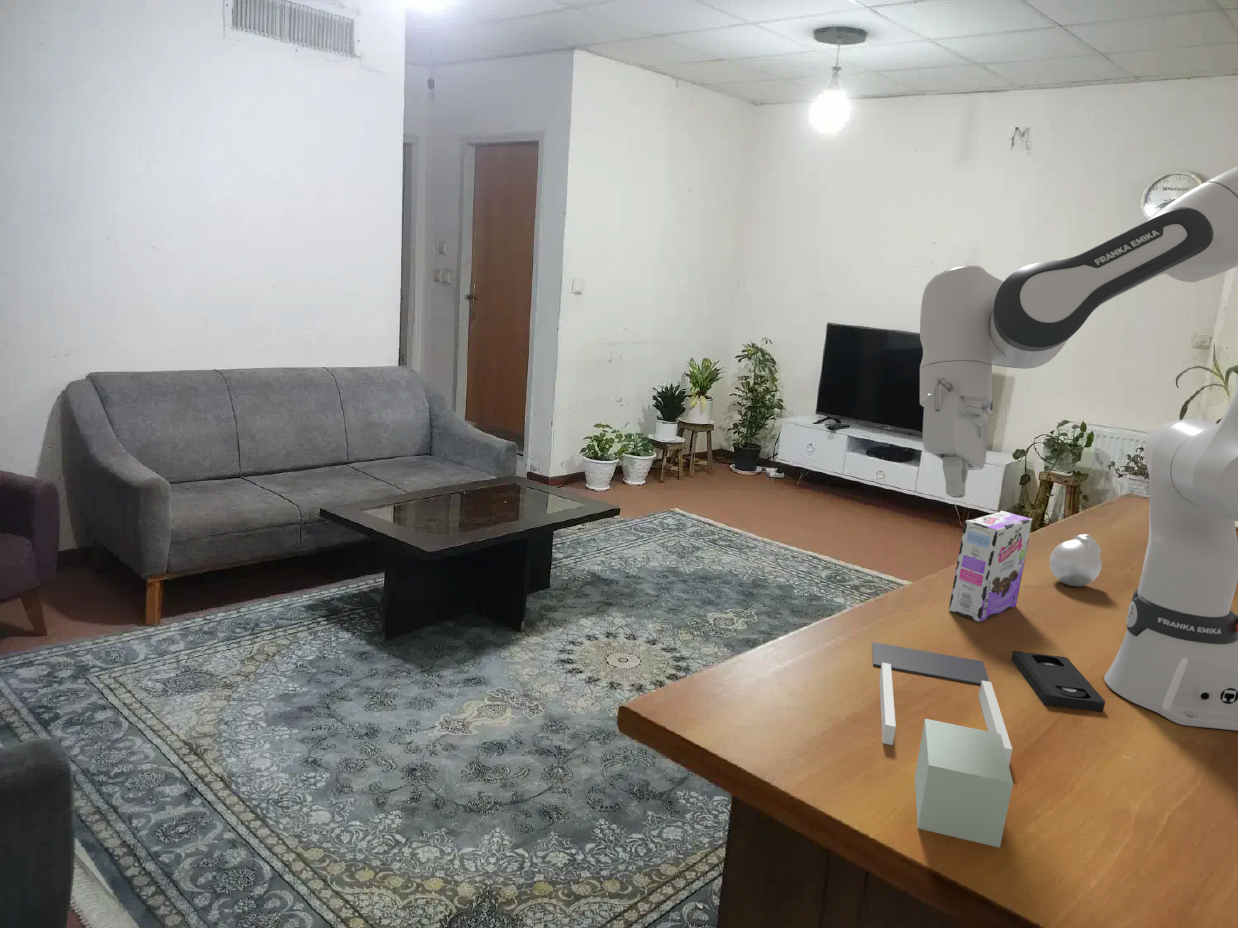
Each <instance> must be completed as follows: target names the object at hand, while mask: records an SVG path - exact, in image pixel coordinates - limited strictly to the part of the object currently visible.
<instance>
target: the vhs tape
mask: <svg viewBox="0 0 1238 928" xmlns="http://www.w3.org/2000/svg"><path fill="white" fill-rule="evenodd" d="M1011 652H1012V653H1011V659H1010V660H1011V662H1012V663H1013V664H1014V666H1015V667H1016V668H1017V670H1018V671H1019V673H1020V674H1021V675H1022V677H1023V678H1024V679H1025V681H1026V682H1027V684H1028V685H1029V687H1030V688H1031V689H1032V690H1033V692H1034V693H1035V695H1036V696H1037V697H1038V699H1039V700H1040V702H1041V703H1042V705H1043V706H1045V707H1046V706H1047V707H1055V708H1057V707H1058V708H1064V709H1072V710H1079V711H1080V710H1082V711H1089V712H1094V713H1095V712H1097V713H1103V712H1104V709H1105V705H1106V701H1105V699H1104V698H1103V697H1102V696H1101V695H1100V693H1099V692H1098V691H1097V690H1096V689H1095V688H1094V687H1093V686H1092V684H1091V683H1090V682H1089V681H1088V680H1087V679H1086V677H1085V676H1084V675H1083V674H1082V672H1080V671H1079V670H1078V668H1077V667H1076V666H1075V665H1074V663H1072V661H1071V660H1070V659H1069V658H1068V657H1066V656H1060V655H1051V654H1043V653H1035V652H1024V651H1019V650H1012V651H1011ZM1087 695H1088V696H1089V697H1090V698H1089V697H1088V698H1086V697H1087Z"/></svg>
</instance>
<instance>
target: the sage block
mask: <svg viewBox="0 0 1238 928" xmlns="http://www.w3.org/2000/svg"><path fill="white" fill-rule="evenodd" d="M922 728H923V729H922V733H921V739H920V744H919V745H920V746H919V750H918V757H917V763H916V767H915V773H914V787H915V806H916V824H917V825H916V826H917V827H916V828H917V829H919V830H923V831H926V832H927V831H928V832H932V833H936V834H940V835H943V836H949V837H952V838H957V839H961V840H966V841H970V842H973V843H979V844H983V845H987V846H990V847H995V848H999V849H1000V848H1001V843H1002V838H1003V834H1004V828H1005V825H1006V821H1007V820H1006V819H1007V816H1008V815H1007V814H1008V810H1009V805H1010V800H1011V795H1012V789H1013V786H1014V782H1013V778H1012V774H1011V769H1010V764H1009V765H1008V760H1007V756H1006V752H1005V748H1004V744H1003V740H1002V736H1001V734H998V733H993V732H988V730H983V729H979V728H973V727H968V726H963V725H958V724H954V723H948V722H943V721H940V720H933V719H928V718H924V722H923V727H922Z"/></svg>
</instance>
